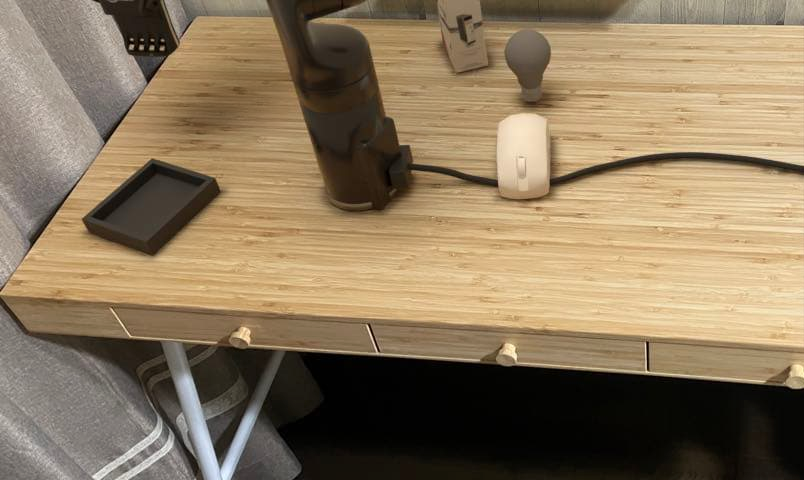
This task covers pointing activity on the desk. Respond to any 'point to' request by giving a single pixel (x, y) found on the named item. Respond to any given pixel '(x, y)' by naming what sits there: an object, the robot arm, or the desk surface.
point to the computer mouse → (523, 156)
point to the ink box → (463, 33)
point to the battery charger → (143, 28)
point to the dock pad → (151, 206)
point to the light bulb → (528, 61)
